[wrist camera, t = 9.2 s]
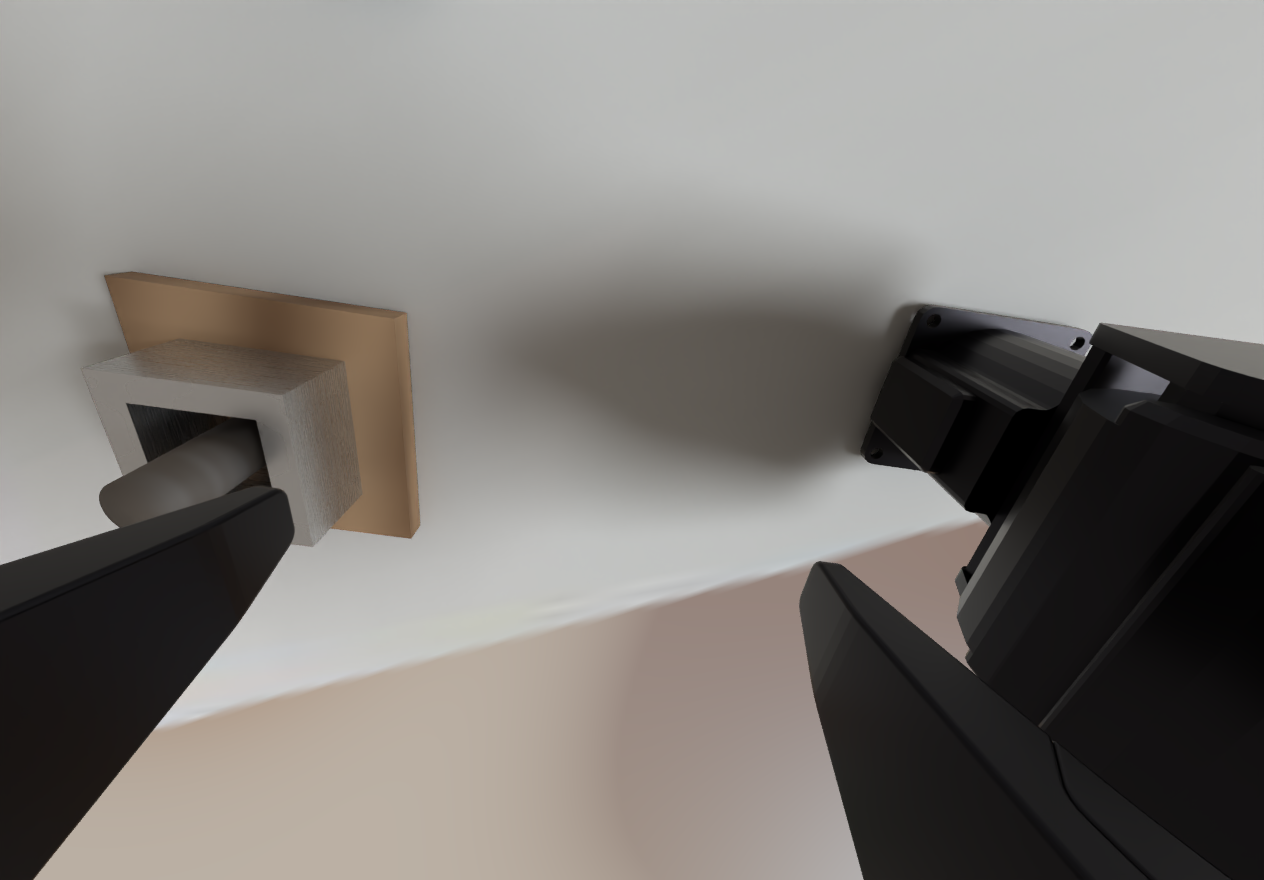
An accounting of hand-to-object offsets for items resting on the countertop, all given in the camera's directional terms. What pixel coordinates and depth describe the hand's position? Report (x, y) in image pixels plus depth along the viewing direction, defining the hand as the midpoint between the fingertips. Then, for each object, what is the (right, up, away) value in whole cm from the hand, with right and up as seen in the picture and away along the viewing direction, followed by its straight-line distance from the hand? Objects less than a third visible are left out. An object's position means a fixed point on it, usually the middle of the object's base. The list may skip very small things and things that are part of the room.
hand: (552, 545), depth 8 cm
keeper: (-13, +3, +12) cm, 18 cm away
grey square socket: (-13, +3, +11) cm, 17 cm away
